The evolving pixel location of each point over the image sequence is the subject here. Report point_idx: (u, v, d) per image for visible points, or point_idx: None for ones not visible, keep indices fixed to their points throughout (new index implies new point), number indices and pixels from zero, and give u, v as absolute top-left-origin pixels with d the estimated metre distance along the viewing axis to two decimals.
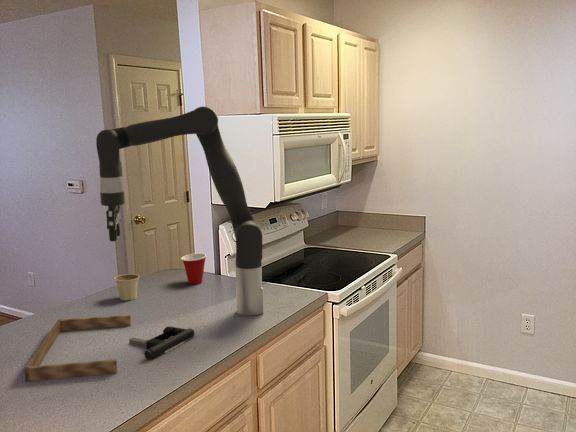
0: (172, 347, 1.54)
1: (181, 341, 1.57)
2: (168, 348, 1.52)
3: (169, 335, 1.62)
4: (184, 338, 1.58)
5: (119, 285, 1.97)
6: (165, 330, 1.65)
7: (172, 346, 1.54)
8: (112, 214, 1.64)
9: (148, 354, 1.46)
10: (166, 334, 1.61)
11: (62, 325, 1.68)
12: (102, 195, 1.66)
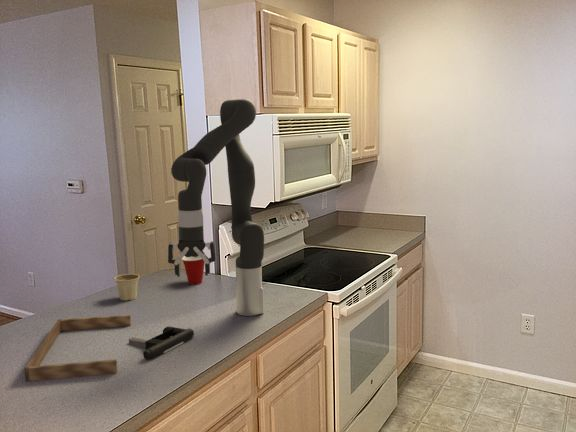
0: (171, 347, 1.54)
1: (180, 341, 1.57)
2: (167, 348, 1.52)
3: (169, 335, 1.62)
4: (183, 338, 1.58)
5: (119, 285, 1.97)
6: (165, 330, 1.65)
7: (171, 346, 1.53)
8: None
9: (147, 354, 1.46)
10: (166, 334, 1.61)
11: (62, 325, 1.68)
12: (198, 229, 1.53)
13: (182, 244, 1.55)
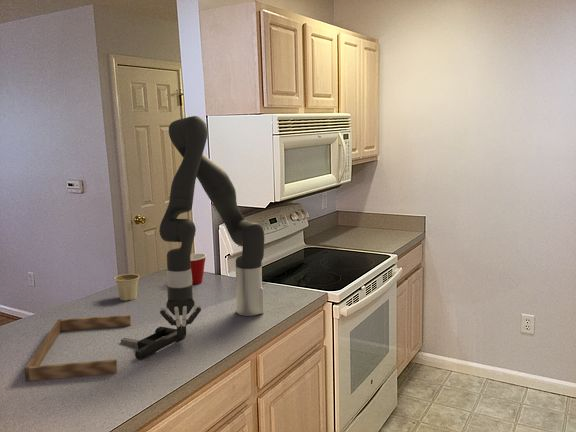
0: (163, 347, 1.54)
1: (172, 341, 1.57)
2: (159, 348, 1.52)
3: (161, 335, 1.62)
4: (175, 338, 1.58)
5: (119, 285, 1.97)
6: (157, 330, 1.65)
7: (163, 346, 1.54)
8: None
9: (139, 354, 1.47)
10: (158, 334, 1.61)
11: (62, 325, 1.68)
12: (188, 289, 1.54)
13: (170, 303, 1.55)
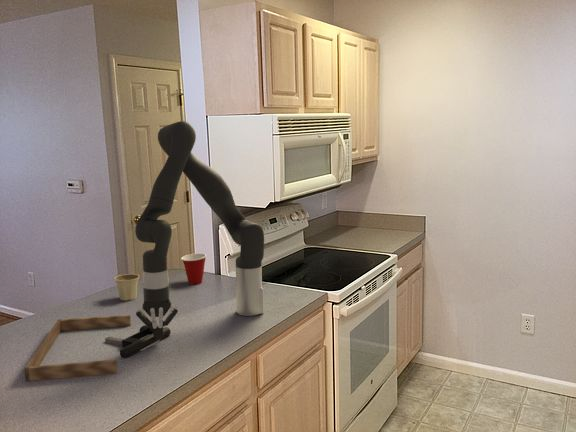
0: (148, 345, 1.55)
1: (157, 340, 1.59)
2: (144, 347, 1.54)
3: (145, 334, 1.64)
4: None
5: (119, 285, 1.97)
6: (141, 329, 1.66)
7: (148, 345, 1.55)
8: None
9: (123, 353, 1.48)
10: (142, 332, 1.62)
11: (62, 325, 1.68)
12: (164, 290, 1.53)
13: (146, 304, 1.54)
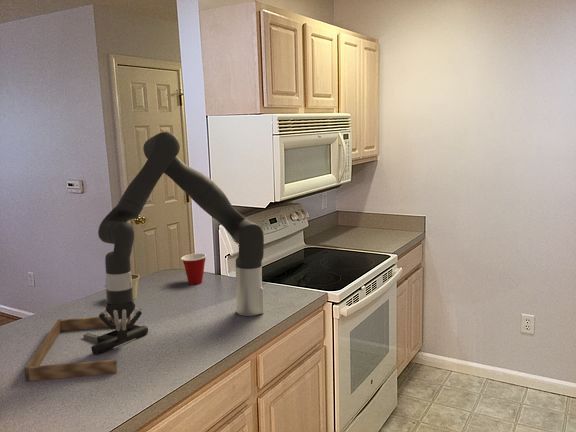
0: (122, 343, 1.57)
1: (132, 338, 1.60)
2: (117, 344, 1.55)
3: None
4: (136, 335, 1.61)
5: None
6: (121, 326, 1.68)
7: (122, 342, 1.57)
8: None
9: (94, 349, 1.50)
10: None
11: (62, 325, 1.68)
12: (127, 292, 1.51)
13: (109, 306, 1.52)
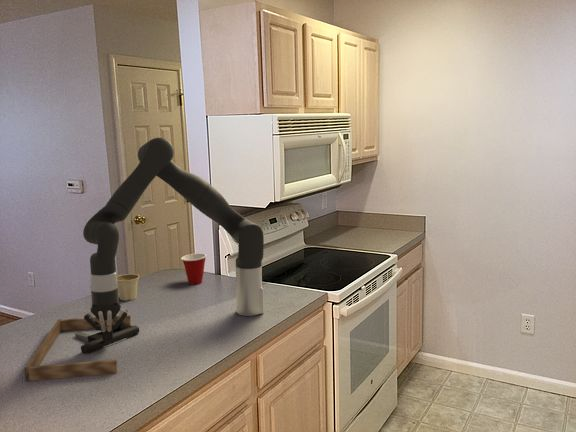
0: (112, 343, 1.57)
1: (123, 337, 1.60)
2: (107, 344, 1.56)
3: (115, 331, 1.66)
4: (126, 335, 1.61)
5: (119, 285, 1.97)
6: None
7: (112, 342, 1.57)
8: None
9: (84, 349, 1.50)
10: None
11: (62, 325, 1.68)
12: (112, 293, 1.50)
13: (94, 307, 1.51)
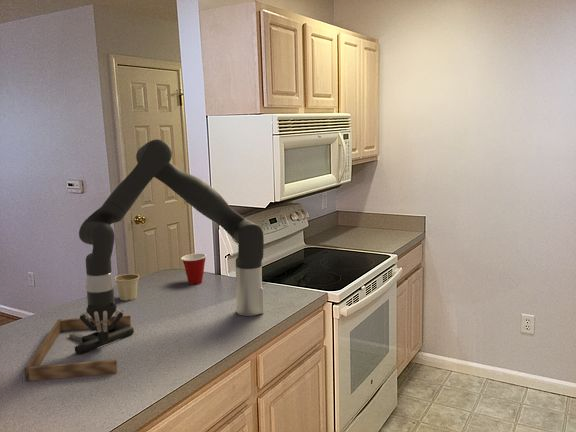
0: (106, 343, 1.57)
1: (117, 338, 1.60)
2: (101, 345, 1.55)
3: (109, 332, 1.66)
4: (120, 335, 1.61)
5: (119, 285, 1.97)
6: None
7: (106, 343, 1.57)
8: None
9: (77, 349, 1.50)
10: None
11: (62, 325, 1.68)
12: (107, 293, 1.50)
13: (89, 308, 1.51)
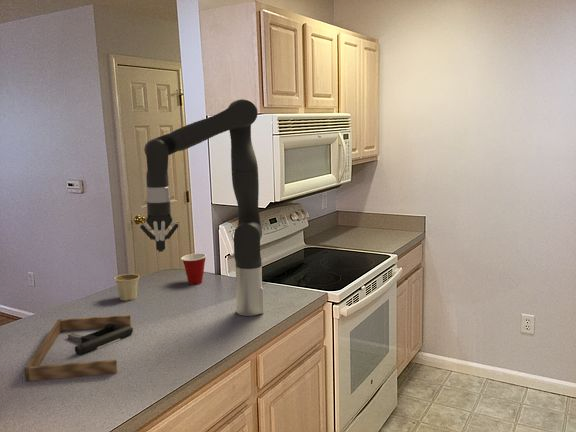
0: (106, 343, 1.57)
1: (116, 338, 1.60)
2: (101, 344, 1.55)
3: (108, 332, 1.65)
4: (120, 335, 1.61)
5: (119, 285, 1.97)
6: (106, 327, 1.68)
7: (106, 342, 1.56)
8: None
9: (78, 349, 1.50)
10: (105, 330, 1.64)
11: (62, 325, 1.68)
12: (166, 204, 1.67)
13: (149, 218, 1.68)
